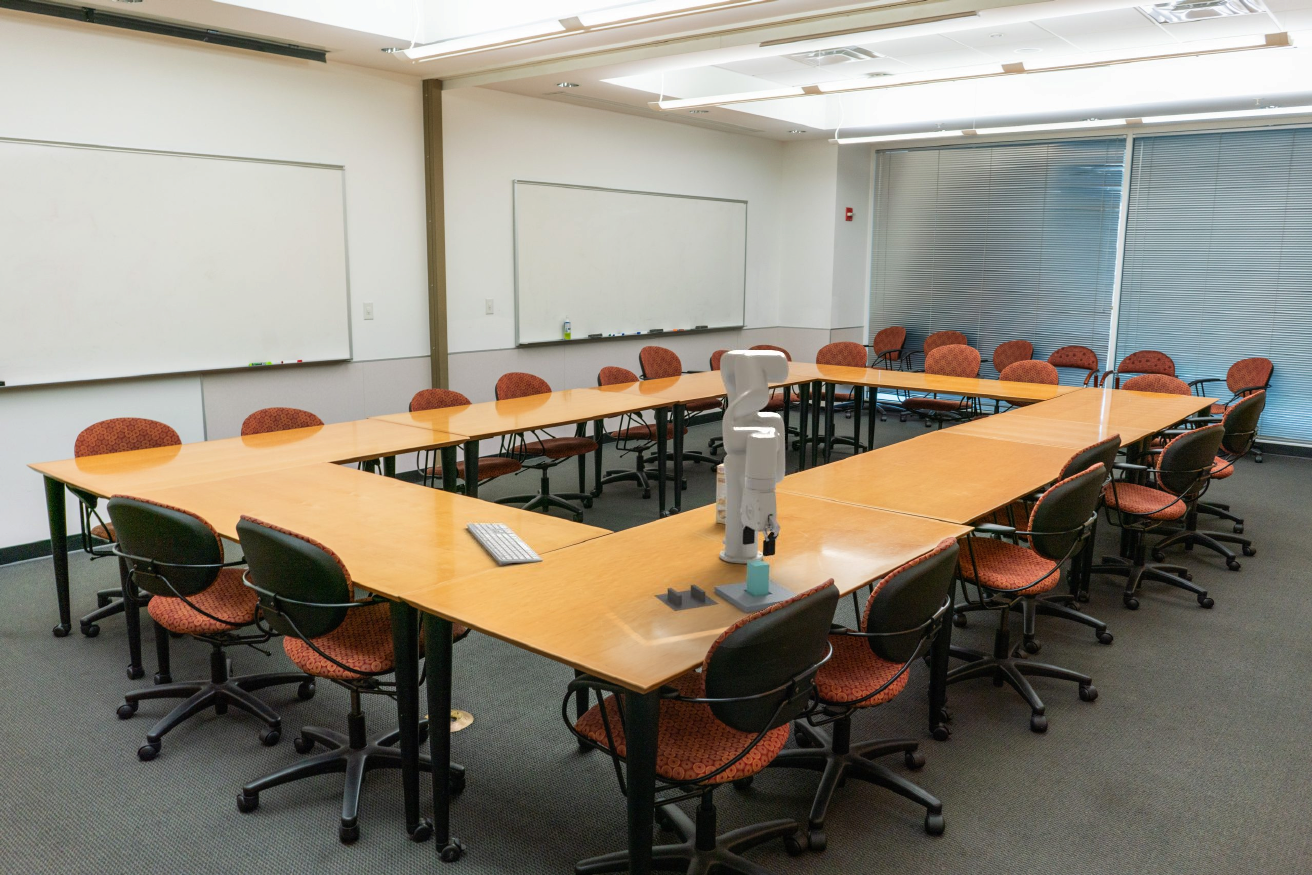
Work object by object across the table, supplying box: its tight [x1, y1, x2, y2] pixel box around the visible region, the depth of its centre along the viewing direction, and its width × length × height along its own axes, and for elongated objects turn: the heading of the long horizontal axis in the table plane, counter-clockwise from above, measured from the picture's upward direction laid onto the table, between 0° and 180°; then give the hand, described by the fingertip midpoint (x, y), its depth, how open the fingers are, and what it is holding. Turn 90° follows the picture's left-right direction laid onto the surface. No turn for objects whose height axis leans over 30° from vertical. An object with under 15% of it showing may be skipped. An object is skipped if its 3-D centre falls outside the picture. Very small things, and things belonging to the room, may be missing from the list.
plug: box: [746, 559, 770, 597], centre depth 231 cm, size 4×4×10 cm
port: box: [713, 578, 798, 614], centre depth 232 cm, size 16×16×2 cm
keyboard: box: [466, 522, 543, 566], centre depth 281 cm, size 44×12×2 cm, turn 24°
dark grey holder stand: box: [654, 584, 720, 612], centre depth 230 cm, size 12×12×4 cm
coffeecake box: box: [715, 462, 726, 525], centre depth 310 cm, size 15×7×20 cm, turn 148°
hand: (758, 549), depth 230 cm, fingers open, 9 cm apart
